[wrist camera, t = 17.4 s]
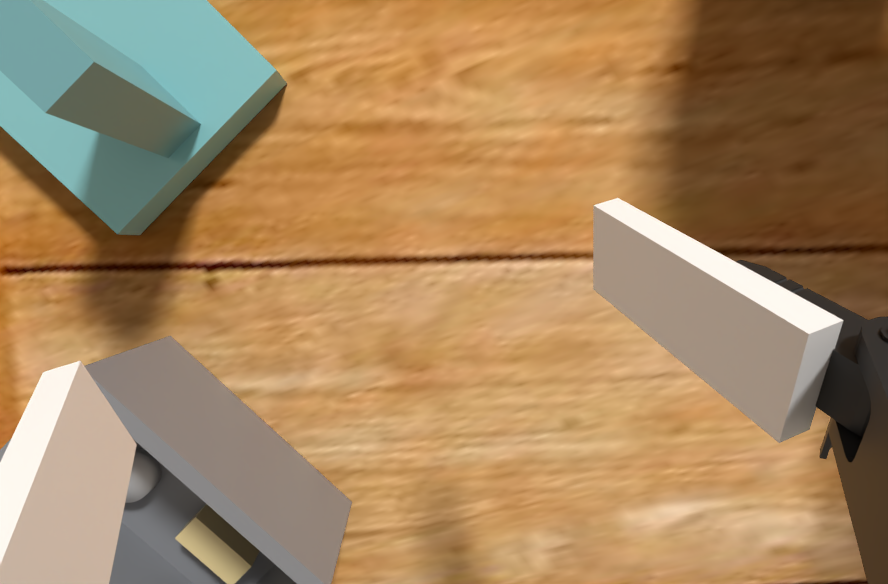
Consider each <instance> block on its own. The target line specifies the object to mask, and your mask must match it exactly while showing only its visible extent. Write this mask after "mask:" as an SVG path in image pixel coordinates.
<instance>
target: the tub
mask: <svg viewBox="0 0 888 584" xmlns="http://www.w3.org/2000/svg"><path fill="white" fill-rule="evenodd" d="M84 367H85V368H86V370H87V371H88V373H89V374H90V376H91V377H92V379H93V380H94V381H95V383H96V384H97V386H98V387H99V389H100V390H101V392H102V393H103V395H104V396H105V398H106V399H107V401H108V402H109V404H110V405H111V407H112V408H113V410H114V411H115V413H116V414H117V416H118V417H119V419H120V420H121V422H122V423H123V425H124V426H125V428H126V429H127V431H128V432H129V434H130V435H131V437H132V438H133V440H134V441H135V443H136V444H137V445H136V451H135V456H134V461H133V466H132V471H131V476H130V481H129V486H128V491H127V496H126V501H125V506H124V511H123V516H122V521H121V526H120V531H119V536H118V541H117V546H116V551H115V556H114V561H113V566H112V571H111V576H110V581H109V584H331V582H332V578H333V574H334V571H335V567H336V563H337V559H338V555H339V551H340V547H341V543H342V539H343V535H344V531H345V527H346V523H347V519H348V516H349V512H350V508H351V504H352V502H351V501H350V500H349V499H348V498H347V497H346V496H345V495H344V494H343V493H342V492H340V491H339V490H338V489H337V488H336V487H335V486H334V485H333V484H332V483H331V482H330V481H328V480H327V479H326V478H325V477H324V476H323V475H322V474H321V473H320V472H319V471H318V470H316V469H315V468H314V467H313V466H312V465H311V464H310V463H309V462H308V461H307V460H305V459H304V458H303V457H302V456H301V455H300V454H299V453H298V452H297V451H296V450H295V449H293V448H292V447H291V446H290V445H289V444H288V443H287V442H286V441H285V440H284V439H283V438H281V437H280V436H279V435H278V434H277V433H276V432H275V431H274V430H273V429H272V428H271V427H269V426H268V425H267V424H266V423H265V422H264V421H263V420H262V419H261V418H260V417H258V416H257V415H256V414H255V413H254V412H253V411H252V410H251V409H250V408H249V407H248V406H246V405H245V404H244V403H243V402H242V401H241V400H240V399H239V398H238V397H237V396H236V395H234V394H233V393H232V392H231V391H230V390H229V389H228V388H227V387H226V386H225V385H223V384H222V383H221V382H220V381H219V380H218V379H217V378H216V377H215V376H214V375H213V374H211V373H210V372H209V371H208V370H207V369H206V368H205V367H204V366H203V365H202V364H201V363H199V362H198V361H197V360H196V359H195V358H194V357H193V356H192V355H191V354H190V353H189V352H187V351H186V350H185V349H184V348H183V347H182V346H181V345H180V344H179V343H178V342H176V341H175V340H174V339H173V338H172V337H171V336H168V337H165V338H163V339H160V340H157V341H154V342H151V343H148V344H145V345H143V346H140V347H137V348H134V349H131V350H128V351H126V352H123V353H120V354H117V355H114V356H111V357H108V358H106V359H103V360H100V361H97V362H94V363H91V364H88V365H86V366H84ZM11 439H12V438H11ZM11 439H10V440H9V441H8V442H7V443H6V445H5V446H4V447H3V448H2V449H1V450H0V462H1V460H2V458H3V455H4V453H5V451H6V449H7V447H8V445H9V443H10V441H11Z"/></svg>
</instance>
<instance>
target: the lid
mask: <svg viewBox="0 0 888 584" xmlns="http://www.w3.org/2000/svg"><path fill="white" fill-rule="evenodd" d="M286 84H287V83H286V82H285V81H284V79H283V78H282V77H281V75H280V74H279V73H278V72H277V70H276V69H275V68H274V67H273V66H272V65H271V64H270V63H269V62H268V61H267V60H266V59H265V58H264V57H263V56H262V55H261V54H260V53H259V52H258V51H257V50H256V49H255V48H254V47H253V46H252V45H251V44H250V43H249V42H248V41H247V40H246V39H245V38H244V37H243V36H242V35H241V34H240V33H239V32H238V31H237V30H236V29H235V28H234V27H233V26H232V25H231V24H230V23H229V22H228V21H227V20H226V19H225V18H224V17H223V16H222V15H221V14H220V13H219V12H218V11H217V10H216V9H215V8H214V7H213V6H212V5H211V4H210V3H209V2H208V1H207V0H0V126H1V127H2V128H3V129H4V130H5V131H6V132H7V133H8V134H10V135H11V136H12V137H13V138H14V139H15V140H16V141H17V142H18V143H19V144H20V145H21V146H22V147H24V148H25V149H26V150H27V151H28V152H29V153H30V154H31V155H32V156H33V157H34V158H35V159H37V160H38V161H39V162H40V163H41V164H42V165H43V166H44V167H45V168H46V169H47V170H48V171H49V172H51V173H52V174H53V175H54V176H55V177H56V178H57V179H58V180H59V181H60V182H61V183H62V184H64V185H65V186H66V187H67V188H68V189H69V190H70V191H71V192H72V193H73V194H74V195H75V196H76V197H78V198H79V199H80V200H81V201H82V202H83V203H84V204H85V205H86V206H87V207H88V208H89V209H91V210H92V211H93V212H94V213H95V214H96V215H97V216H98V217H99V218H100V219H101V220H102V221H103V222H105V223H106V224H107V225H108V226H109V227H110V228H111V229H112V230H113V231H114V232H115V233H116V234H120V235H141V234H142V233H143V231H144V230H145V229H146V228H147V227H148V226H149V225H150V224H151V223H152V222H153V221H154V220H155V219H156V218H157V217H158V216H159V215H160V214H161V213H162V212H163V211H164V210H165V209H166V208H167V207H168V206H169V205H170V204H171V203H172V202H173V201H174V200H175V199H176V197H177V196H178V195H179V194H180V193H181V192H182V191H183V190H184V189H185V188H186V187H187V186H188V185H189V184H190V183H191V182H192V181H193V180H194V179H195V178H196V177H197V176H198V175H199V174H200V173H201V172H202V171H203V170H204V169H205V168H206V167H207V166H208V165H209V163H210V162H211V161H212V160H213V159H214V158H215V157H216V156H217V155H218V154H219V153H220V152H221V151H222V150H223V149H224V148H225V147H226V146H227V145H228V144H229V143H230V142H231V141H232V140H233V139H234V138H235V137H236V136H237V135H238V134H239V133H240V132H241V130H242V129H243V128H244V127H245V126H246V125H247V124H248V123H249V122H250V121H251V120H252V119H253V118H254V117H255V116H256V115H257V114H258V113H259V112H260V111H261V110H262V109H263V108H264V107H265V106H266V105H267V104H268V103H269V102H270V101H271V100H272V99H273V98H274V96H275V95H276V94H277V93H278V92H279V91H280V90H281V89H282V88H283V87H284V86H285V85H286Z"/></svg>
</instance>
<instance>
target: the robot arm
mask: <svg viewBox="0 0 888 584" xmlns="http://www.w3.org/2000/svg"><path fill="white" fill-rule="evenodd" d="M593 289H594V290H595V291H596V292H597V293H599V294H600V295H601V296H602V297H603V298H605V299H606V300H607V301H608V302H609V303H611V304H612V305H613V306H614V307H616V308H617V309H618V310H619V311H620V312H622V313H623V314H624V315H625V316H626V317H628V318H629V319H630V320H631V321H632V322H634V323H635V324H636V325H637V326H639V327H640V328H641V329H642V330H643V331H645V332H646V333H647V334H648V335H649V336H651V337H652V338H653V339H654V340H655V341H657V342H658V343H659V344H660V345H661V346H663V347H664V348H665V349H666V350H668V351H669V352H670V353H671V354H672V355H674V356H675V357H676V358H677V359H678V360H680V361H681V362H682V363H683V364H684V365H686V366H687V367H688V368H689V369H690V370H692V371H693V372H694V373H695V374H697V375H698V376H699V377H700V378H701V379H703V380H704V381H705V382H706V383H707V384H709V385H710V386H711V387H712V388H713V389H715V390H716V391H717V392H718V393H719V394H721V395H722V396H723V397H724V398H726V399H727V400H728V401H729V402H730V403H732V404H733V405H734V406H735V407H736V408H738V409H739V410H740V411H741V412H742V413H744V414H745V415H746V416H747V417H749V418H750V419H751V420H752V421H753V422H755V423H756V424H757V425H758V426H759V427H761V428H762V429H763V430H764V431H765V432H767V433H768V434H769V435H770V436H771V437H773V438H774V439H775V440H776V441H778V442H779V443H780V442H782V441H785V440H787V439H789V438H791V437H794V436H796V435H798V434H800V433H803V432H805V431H807V430H809V429H810V426H811V423H812V420H813V417H814V413H815V410H816V407H817V408H819V409H820V410H822V411H823V412H824V413H826V414H827V415H829V416H830V417H831V419H830V422H829V425H828V428H827V431H826V434H825V437H824V440H823V443H822V446H821V449H820V458H823V459H826V458H827V455H828V452H829V449H830V448H833V451H834V455H835V459H836V463H837V467H838V471H839V474H840V478H841V482H842V486H843V490H844V494H845V497H846V501H847V505H848V509H849V513H850V516H851V520H852V524H853V528H854V532H855V536H856V539H857V543H858V547H859V551H860V555H861V559H862V562H863V566H864V570H865V574H866V578H867V582H868V584H888V317H878V318H874V319H871V320H867V319H865V318H863V317H861V316H859V315H857V314H855V313H853V312H852V311H850V310H848V309H846V308H844V307H842V306H840V305H838V304H836V303H834V302H832V301H830V300H828V299H827V298H825V297H823V296H821V295H819V294H817V293H815V292H813V291H811V290H809V289H804V288H803V286H802V285H800V284H798V283H796V282H794V281H792V280H787V279H786V277H784V276H782V275H780V274H779V273H777V272H775V271H773V270H771V269H769V268H767V267H765V266H761V265H757V264H754V263H750V262H746V261H743V260H739V261H736V262H735V261H733V260H731V259H729V258H728V257H726V256H724V255H722V254H720V253H718V252H716V251H715V250H713V249H711V248H709V247H707V246H705V245H704V244H702V243H700V242H698V241H696V240H694V239H692V238H691V237H689V236H687V235H685V234H683V233H681V232H680V231H678V230H676V229H674V228H672V227H670V226H668V225H667V224H665V223H663V222H661V221H659V220H657V219H656V218H654V217H652V216H650V215H648V214H646V213H644V212H643V211H641V210H639V209H637V208H635V207H633V206H632V205H630V204H628V203H626V202H624V201H622V200H621V199H619V198H616V199H613V200H610V201H606V202H603V203H600V204H596V205H594V268H593ZM136 445H137V444H136V443H135V441H134V440H133V438H132V437H131V435H130V434H129V432H128V431H127V429H126V428H125V426H124V425H123V423H122V422H121V420H120V419H119V417H118V416H117V414H116V413H115V411H114V410H113V408H112V407H111V405H110V404H109V402H108V401H107V399H106V398H105V396H104V395H103V393H102V392H101V390H100V389H99V387H98V386H97V384H96V383H95V381H94V380H93V379H92V377H91V376H90V374H89V373H88V371H87V370H86V368H85V367H84V365H83V364H82V362H81V361H78V362H75V363H72V364H68V365H65V366H62V367H58V368H55V369H52V370H48V371H45V372H43V374H42V376H41V378H40V380H39V382H38V384H37V386H36V389H35V391H34V393H33V395H32V397H31V399H30V401H29V403H28V405H27V407H26V409H25V412H24V414H23V416H22V418H21V420H20V422H19V424H18V426H17V428H16V430H15V432H14V435H13V437H12V439H11V441H10V443H9V445H8V447H7V449H6V451H5V453H4V455H3V458H2V460H1V462H0V584H109V581H110V576H111V571H112V566H113V561H114V556H115V551H116V546H117V541H118V536H119V531H120V526H121V521H122V516H123V511H124V506H125V501H126V496H127V491H128V486H129V481H130V476H131V471H132V466H133V461H134V456H135V451H136Z"/></svg>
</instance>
